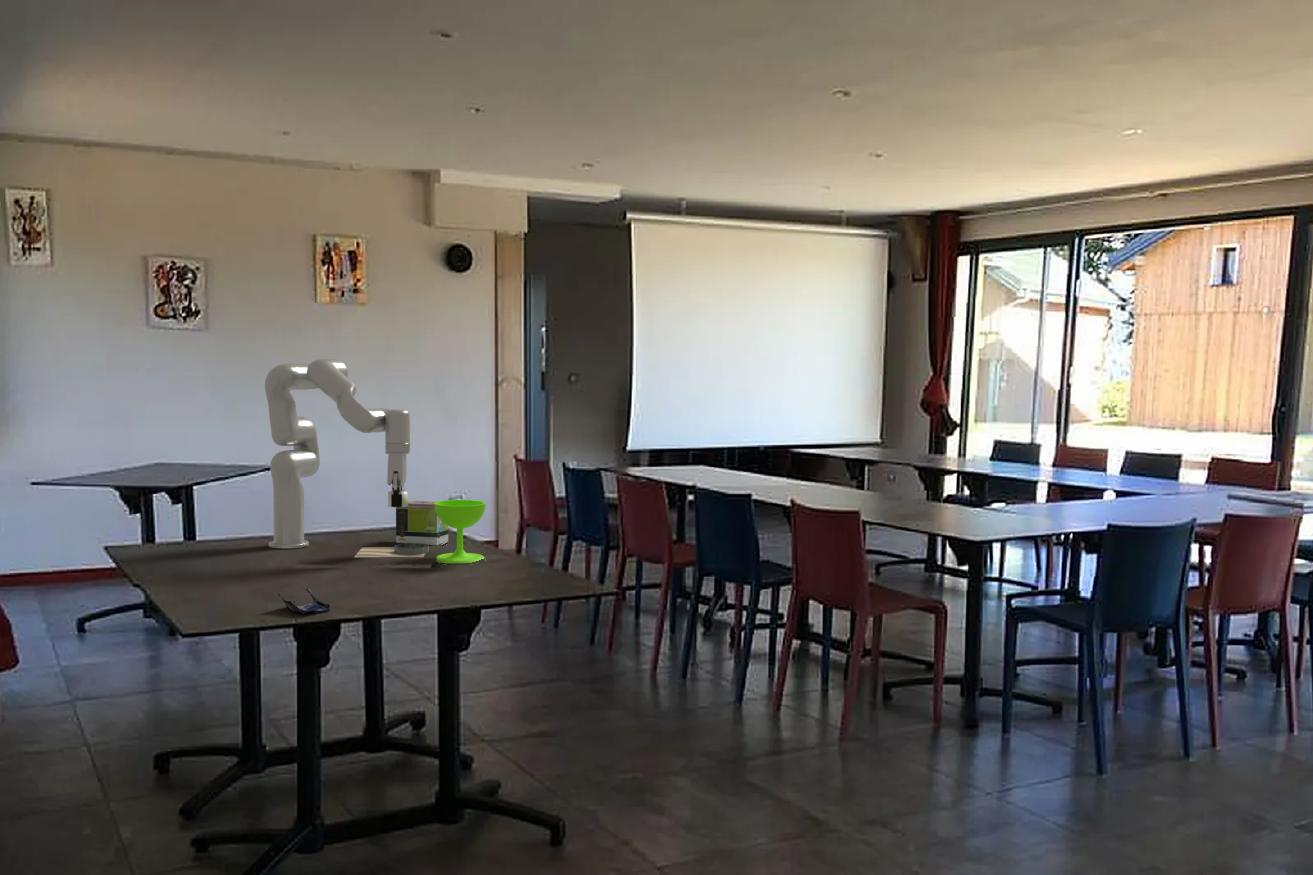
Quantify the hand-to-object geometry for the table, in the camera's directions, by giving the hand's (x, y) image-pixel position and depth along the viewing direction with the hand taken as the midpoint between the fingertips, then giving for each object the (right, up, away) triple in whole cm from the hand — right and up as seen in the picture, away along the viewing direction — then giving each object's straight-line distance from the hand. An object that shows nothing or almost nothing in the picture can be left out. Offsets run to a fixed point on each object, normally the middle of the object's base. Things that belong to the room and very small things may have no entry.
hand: (398, 505), depth 344 cm
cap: (0, 0, 0) cm, 0 cm away
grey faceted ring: (+4, -15, +2) cm, 16 cm away
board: (-2, -16, +1) cm, 16 cm away
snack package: (-5, -22, -77) cm, 80 cm away
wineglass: (+20, -17, -4) cm, 27 cm away
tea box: (+3, -15, +23) cm, 27 cm away
